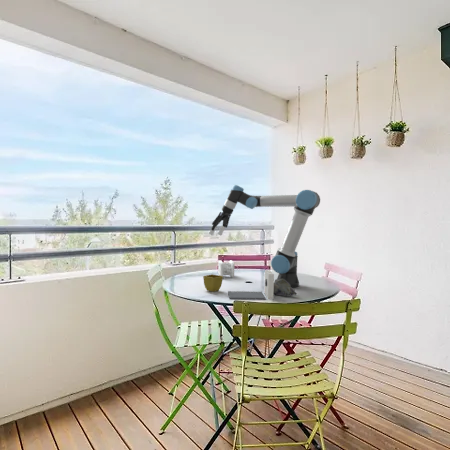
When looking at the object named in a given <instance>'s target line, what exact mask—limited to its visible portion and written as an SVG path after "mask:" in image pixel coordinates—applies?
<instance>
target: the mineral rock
mask: <svg viewBox="0 0 450 450" xmlns="http://www.w3.org/2000/svg"><path fill="white" fill-rule="evenodd" d="M297 294H298V293H297V292H296V290H295V289H294V287H291V285H290V284H289V282H287V281H286V280H284V279H283V278H282V279H280V280H278V279H277V278H276V279H274V293H273V296H274V295H275V296H282V297H283V296H284V297H289V296H290V297H291V296H297Z"/></svg>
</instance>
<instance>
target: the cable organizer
mask: <svg viewBox="0 0 450 450" xmlns="http://www.w3.org/2000/svg"><path fill="white" fill-rule="evenodd" d="M217 264H218V265H217V267H218V270H217V271H218V273H217V274H218V275H219V276H223V277H224V276H229V277H230V278H231V279H234V278H235V261H233V260H232V259H231V260H229V261H228V262H223V261H222V260H218V262H217Z"/></svg>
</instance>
